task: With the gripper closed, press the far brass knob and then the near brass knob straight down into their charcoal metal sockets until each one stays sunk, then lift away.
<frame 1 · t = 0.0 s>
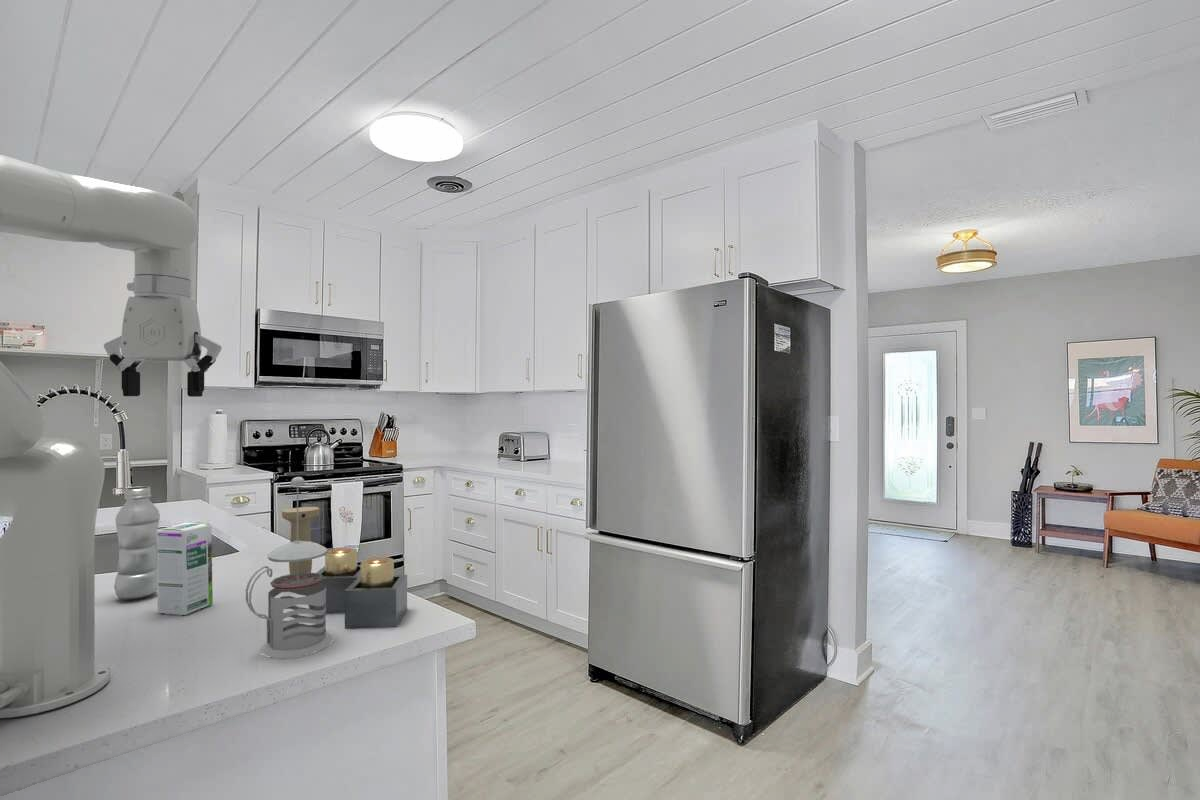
hand: (163, 396, 99), 37 cm above the counter, tool pointing down, fingers open, 9 cm apart
french press: (291, 647, 91), on the counter
syrup box: (185, 610, 106), on the counter
plastic bottle: (137, 598, 112), on the counter
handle: (300, 588, 118), on the counter
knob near: (377, 577, 102), point 7 cm above the counter, slide at 0.0 cm
knob far: (341, 566, 108), point 7 cm above the counter, slide at 0.0 cm
socket near: (377, 618, 102), on the counter
socket far: (341, 605, 108), on the counter
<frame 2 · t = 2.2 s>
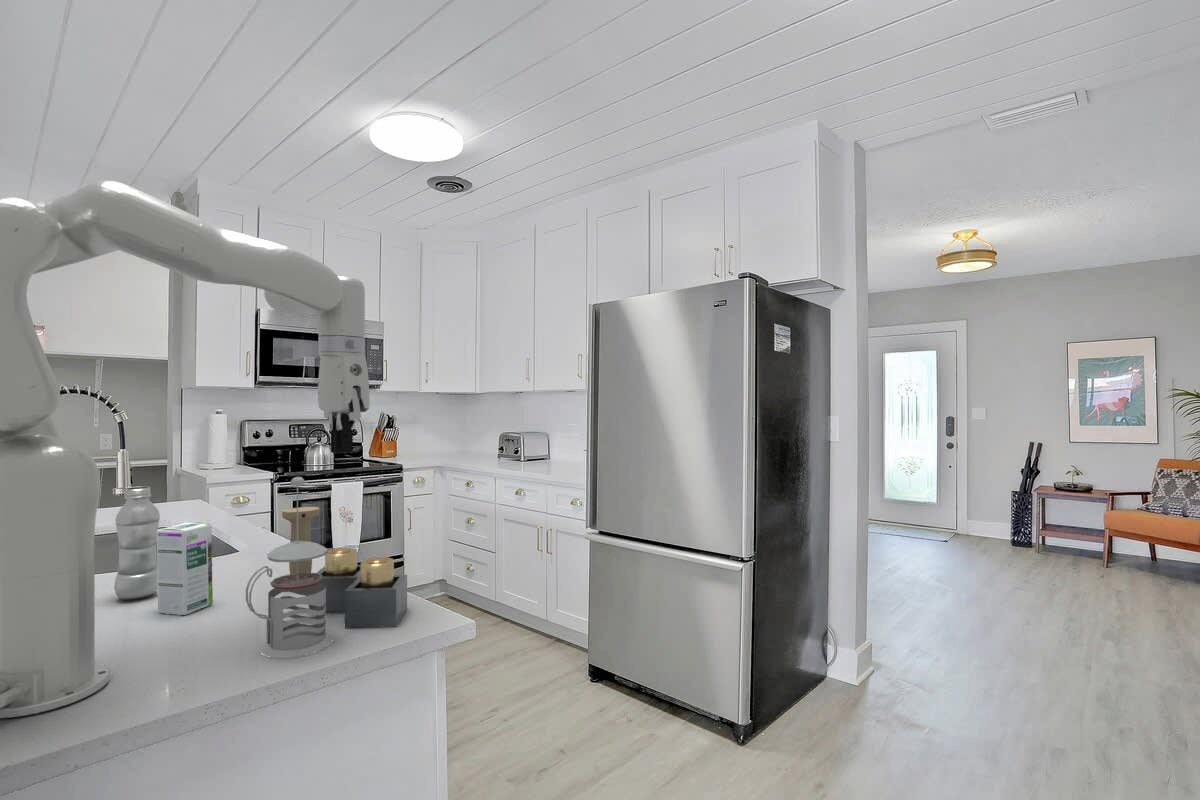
hand: (341, 452, 108), 27 cm above the counter, tool pointing down, fingers closed
nothing on the counter moved.
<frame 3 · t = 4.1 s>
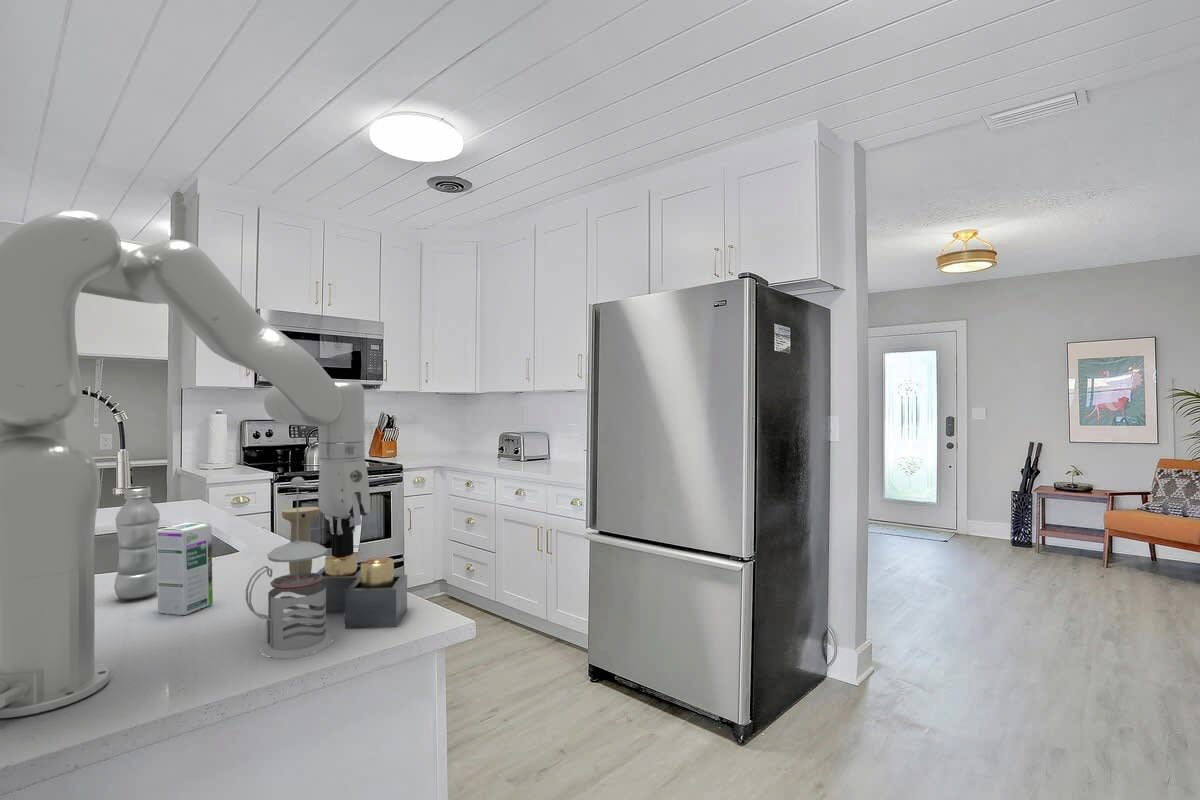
hand: (342, 555, 108), 9 cm above the counter, tool pointing down, fingers closed
knob far: (341, 572, 108), point 6 cm above the counter, slide at 1.0 cm, touching gripper
everything else where it was.
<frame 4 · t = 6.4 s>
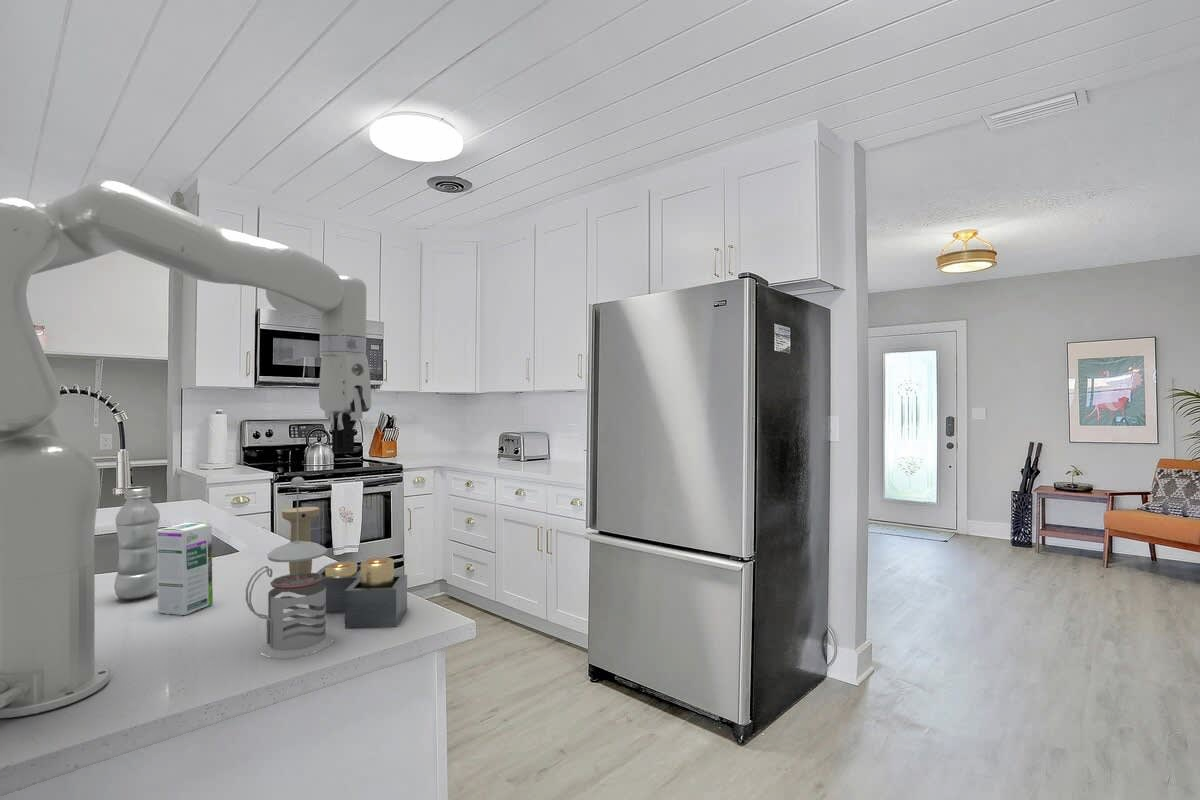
hand: (343, 452, 108), 27 cm above the counter, tool pointing down, fingers closed
knob far: (341, 580, 108), point 4 cm above the counter, slide at 2.5 cm
everything else where it was.
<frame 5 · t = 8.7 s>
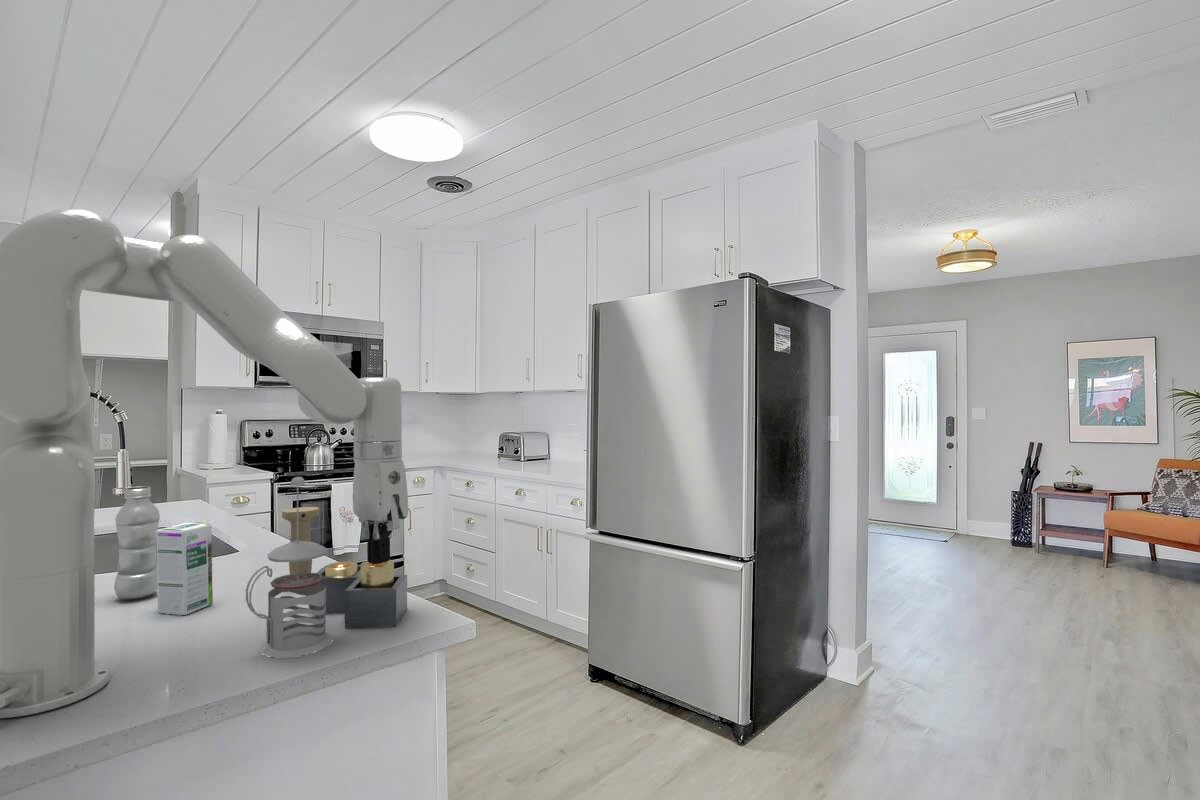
hand: (378, 561, 102), 9 cm above the counter, tool pointing down, fingers closed
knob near: (377, 579, 102), point 7 cm above the counter, slide at 0.3 cm, touching gripper
everything else where it was.
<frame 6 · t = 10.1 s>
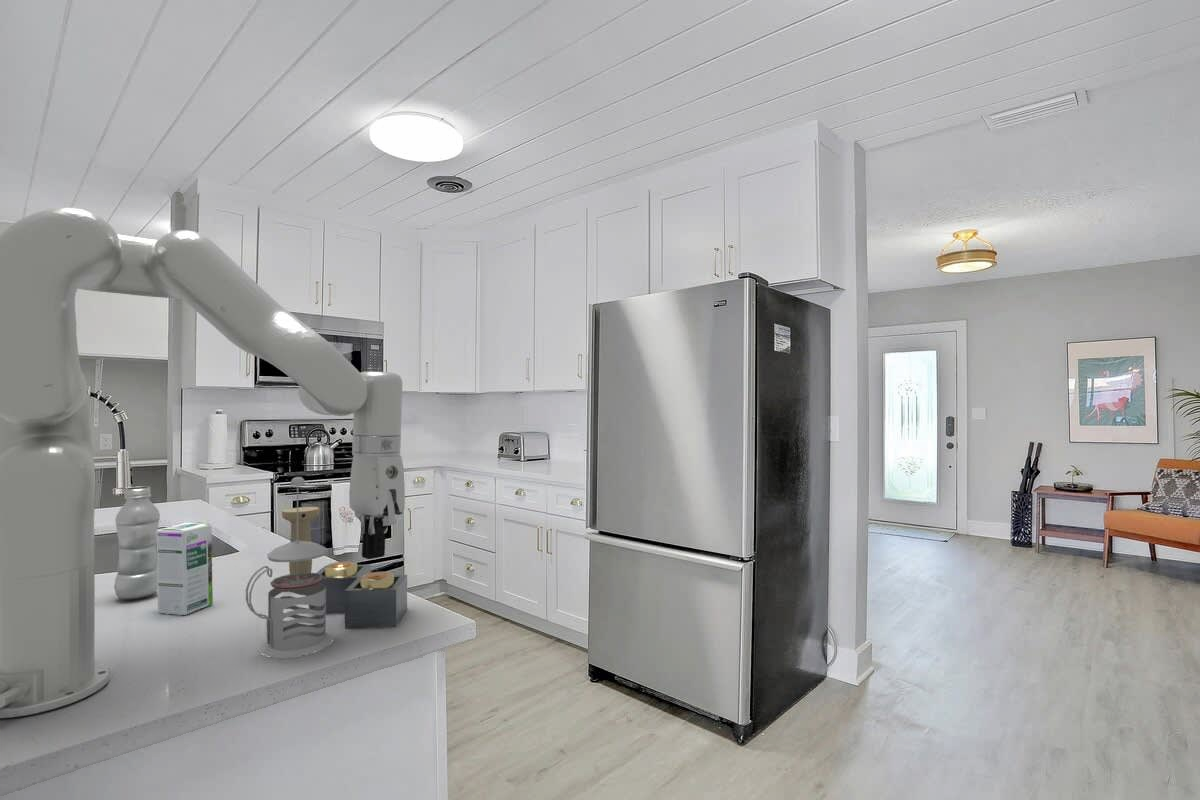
hand: (373, 556, 102), 10 cm above the counter, tool pointing down, fingers closed
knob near: (377, 591, 102), point 4 cm above the counter, slide at 2.5 cm
everything else where it was.
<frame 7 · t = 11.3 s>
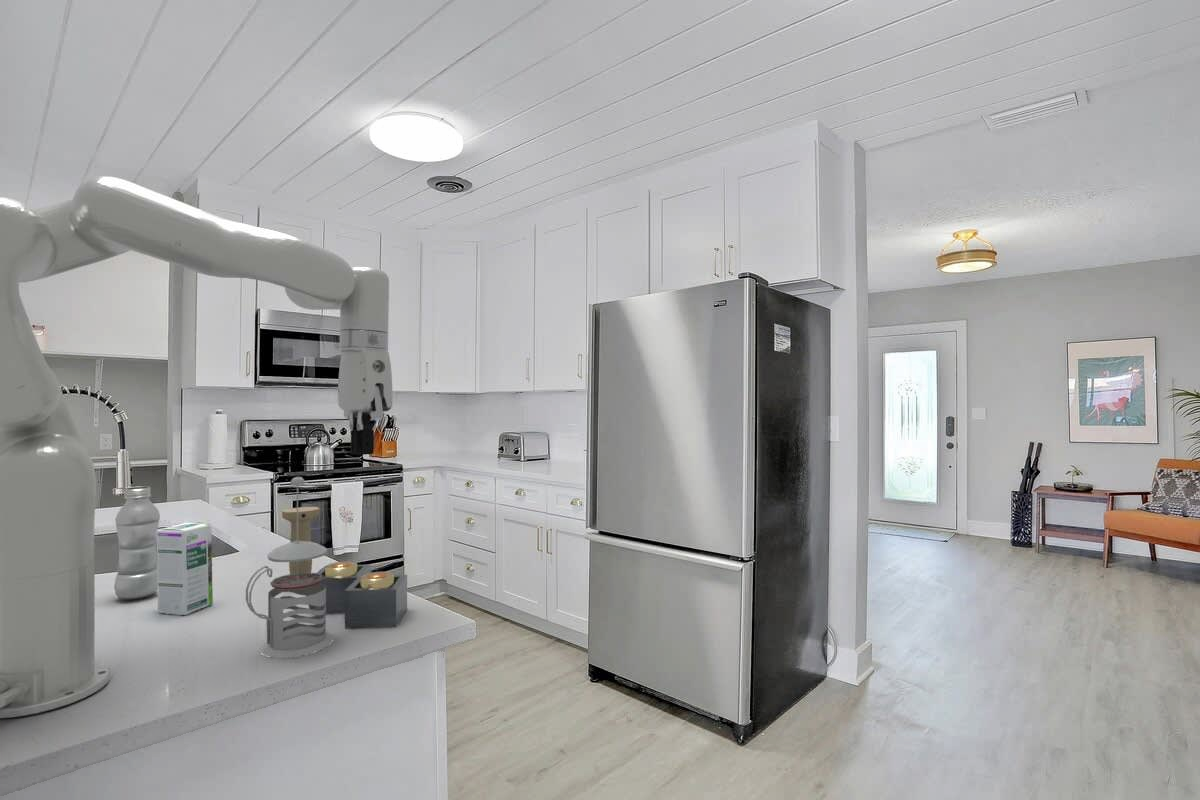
hand: (362, 453, 102), 27 cm above the counter, tool pointing down, fingers closed
nothing on the counter moved.
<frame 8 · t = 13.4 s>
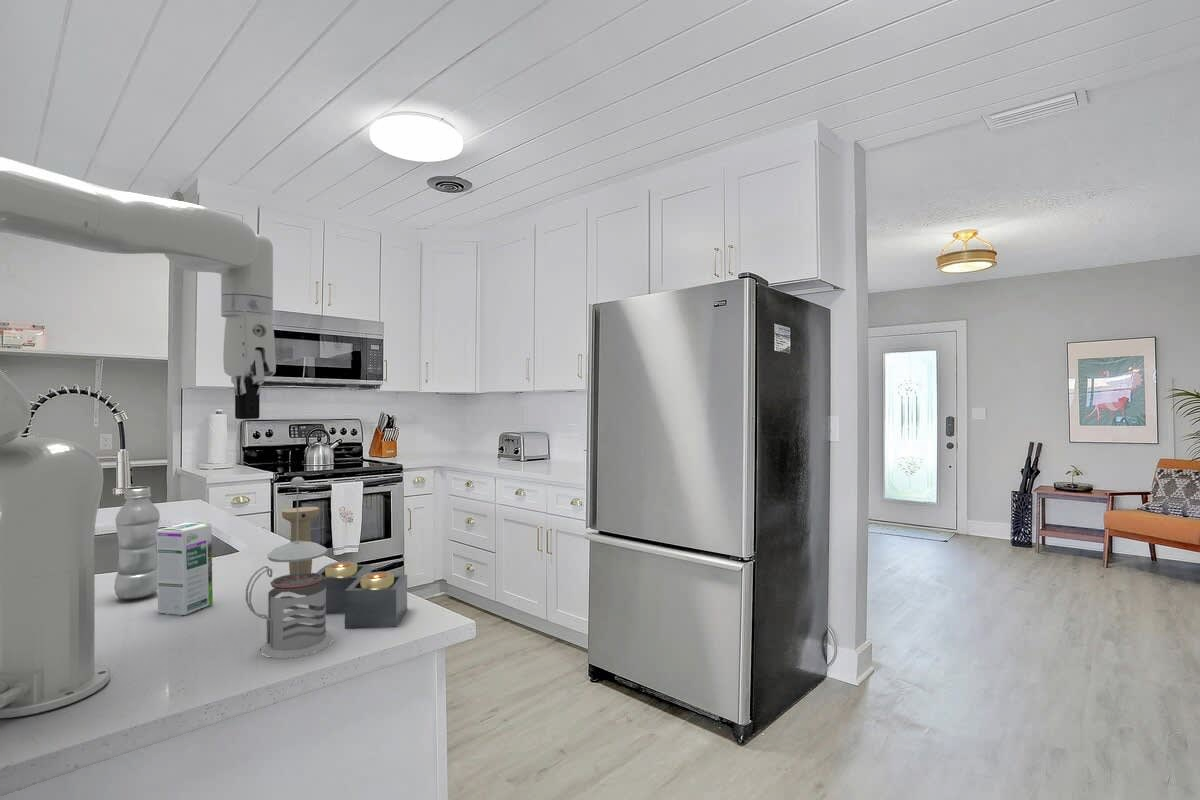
hand: (247, 418, 103), 33 cm above the counter, tool pointing down, fingers closed
nothing on the counter moved.
at the end: knob far slide at 2.5 cm; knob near slide at 2.5 cm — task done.
